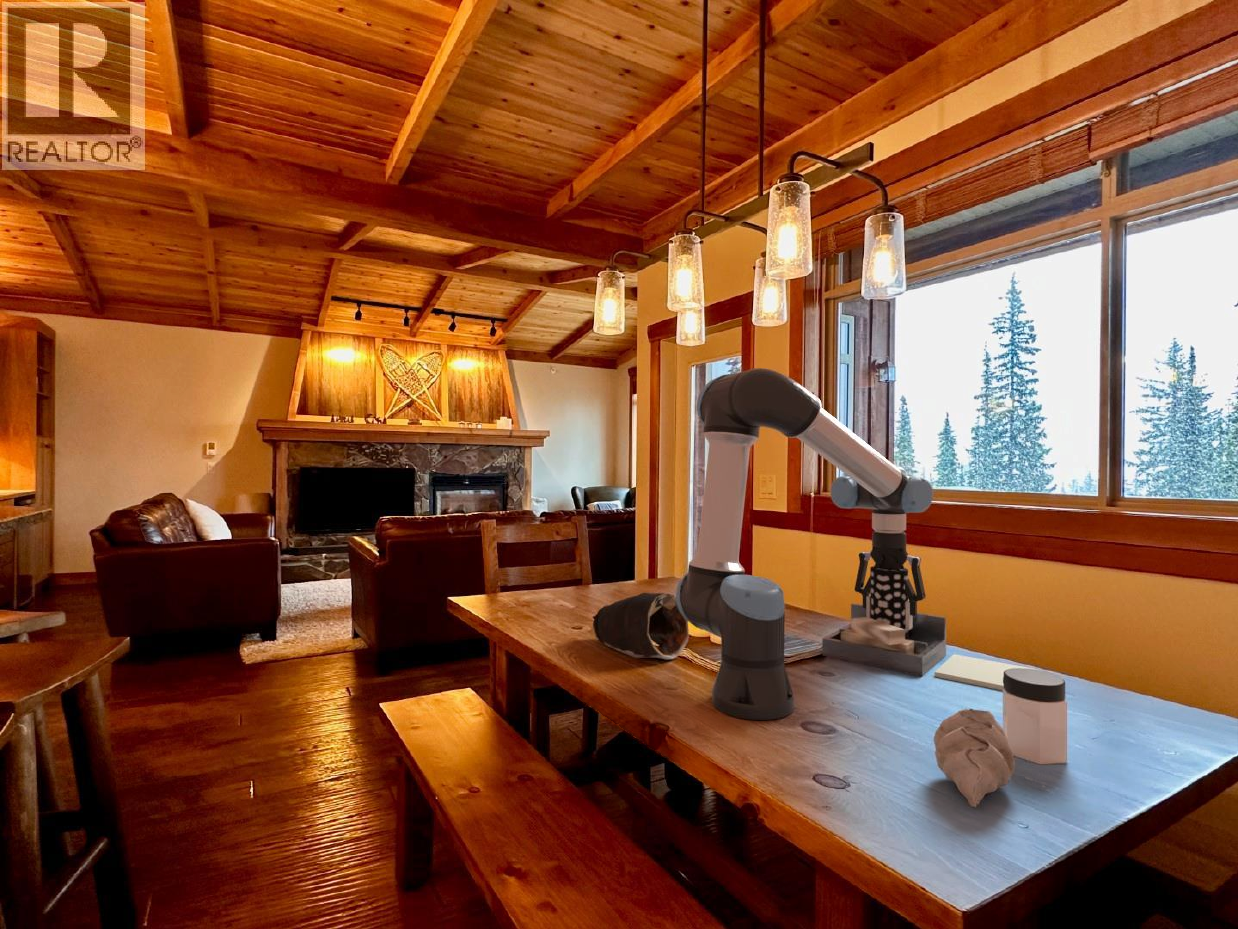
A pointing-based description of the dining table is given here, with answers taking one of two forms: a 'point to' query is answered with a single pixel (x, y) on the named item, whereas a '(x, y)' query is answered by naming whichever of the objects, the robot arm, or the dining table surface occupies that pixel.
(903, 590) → the spotted tube
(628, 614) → the clay pot
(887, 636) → the offcut top
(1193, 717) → the dining table surface
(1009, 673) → the jar
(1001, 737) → the seashell
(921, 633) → the tray
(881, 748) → the dining table surface
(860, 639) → the offcut middle
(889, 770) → the dining table surface
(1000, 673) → the mat
